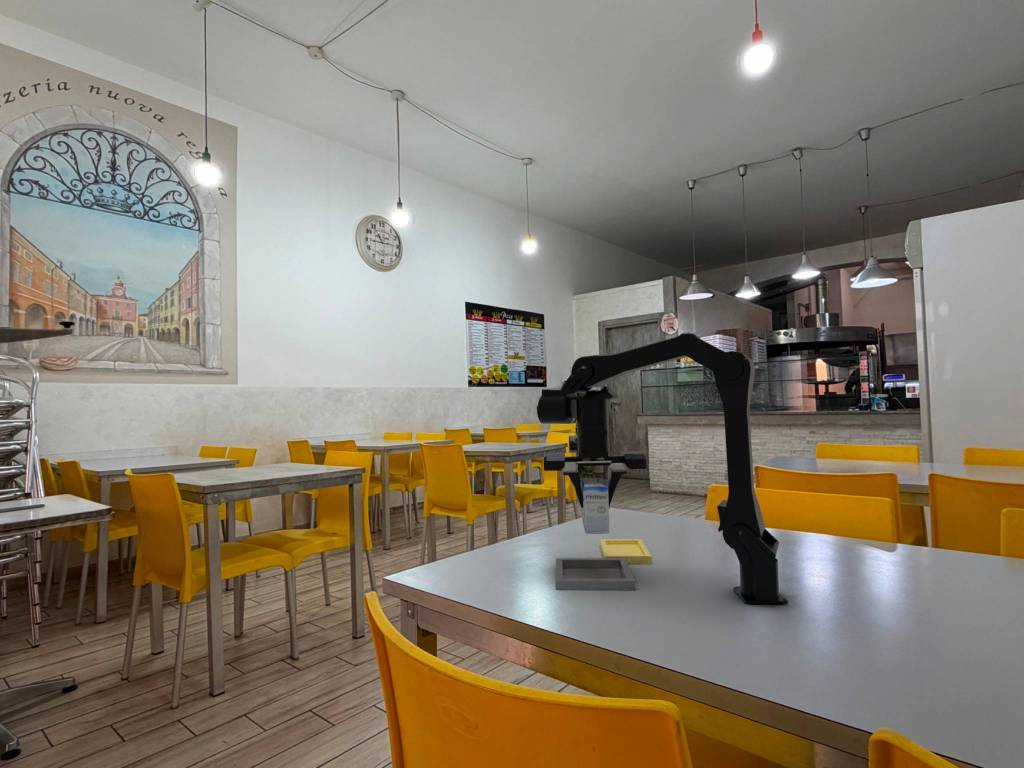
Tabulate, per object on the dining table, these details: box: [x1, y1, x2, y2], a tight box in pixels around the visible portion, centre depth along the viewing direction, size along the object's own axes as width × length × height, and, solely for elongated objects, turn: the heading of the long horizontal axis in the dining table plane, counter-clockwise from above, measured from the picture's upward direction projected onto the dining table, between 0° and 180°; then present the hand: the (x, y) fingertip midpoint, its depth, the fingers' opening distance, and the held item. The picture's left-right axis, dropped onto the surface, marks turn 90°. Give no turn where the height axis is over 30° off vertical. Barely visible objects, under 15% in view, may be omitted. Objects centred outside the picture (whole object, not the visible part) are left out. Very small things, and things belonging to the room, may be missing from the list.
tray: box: [599, 538, 653, 565], centre depth 114 cm, size 13×9×2 cm
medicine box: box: [581, 477, 610, 535], centre depth 102 cm, size 8×4×9 cm, turn 176°
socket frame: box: [555, 557, 636, 591], centre depth 100 cm, size 13×13×2 cm
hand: (595, 507), depth 102 cm, fingers closed on medicine box, 4 cm apart
